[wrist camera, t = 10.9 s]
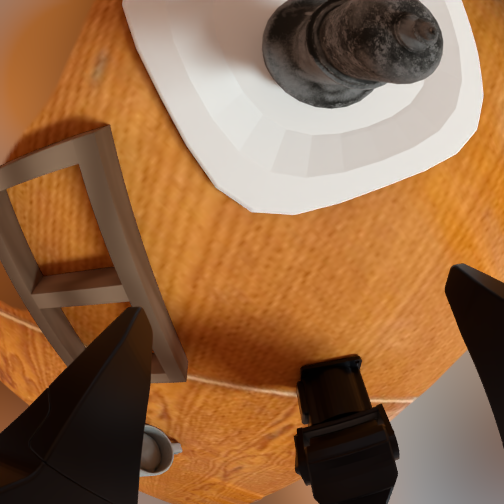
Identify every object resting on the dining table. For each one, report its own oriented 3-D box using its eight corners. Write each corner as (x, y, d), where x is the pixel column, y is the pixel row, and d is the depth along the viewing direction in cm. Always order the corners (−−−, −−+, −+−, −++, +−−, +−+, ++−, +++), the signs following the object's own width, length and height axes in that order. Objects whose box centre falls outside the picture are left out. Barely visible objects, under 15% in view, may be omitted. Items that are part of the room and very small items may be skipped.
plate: (237, 233, 22) (237, 246, 21) (101, -31, 11) (91, -37, 10) (482, 140, 19) (495, 146, 17) (395, -101, 7) (404, -108, 6)
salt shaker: (361, 101, 16) (512, 164, 6) (262, 104, 16) (308, 161, 6) (355, 10, 13) (504, -36, 3) (252, 8, 13) (280, -101, 3)
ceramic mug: (108, 429, 38) (102, 472, 31) (129, 415, 35) (122, 465, 28) (166, 450, 42) (164, 490, 36) (193, 438, 39) (193, 484, 33)
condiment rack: (110, 124, 16) (94, 132, 14) (188, 361, 28) (186, 381, 26) (-13, 171, 17) (-31, 184, 15) (85, 363, 28) (79, 381, 26)
